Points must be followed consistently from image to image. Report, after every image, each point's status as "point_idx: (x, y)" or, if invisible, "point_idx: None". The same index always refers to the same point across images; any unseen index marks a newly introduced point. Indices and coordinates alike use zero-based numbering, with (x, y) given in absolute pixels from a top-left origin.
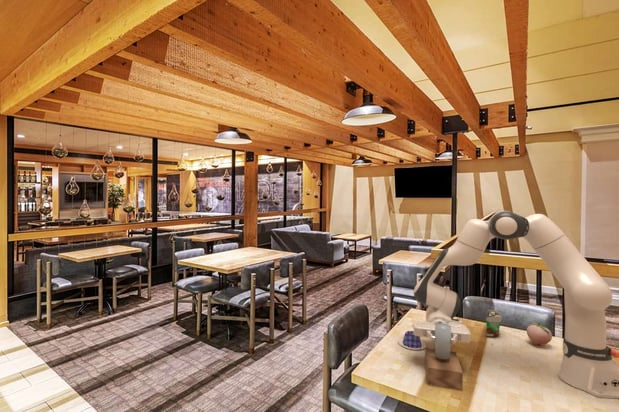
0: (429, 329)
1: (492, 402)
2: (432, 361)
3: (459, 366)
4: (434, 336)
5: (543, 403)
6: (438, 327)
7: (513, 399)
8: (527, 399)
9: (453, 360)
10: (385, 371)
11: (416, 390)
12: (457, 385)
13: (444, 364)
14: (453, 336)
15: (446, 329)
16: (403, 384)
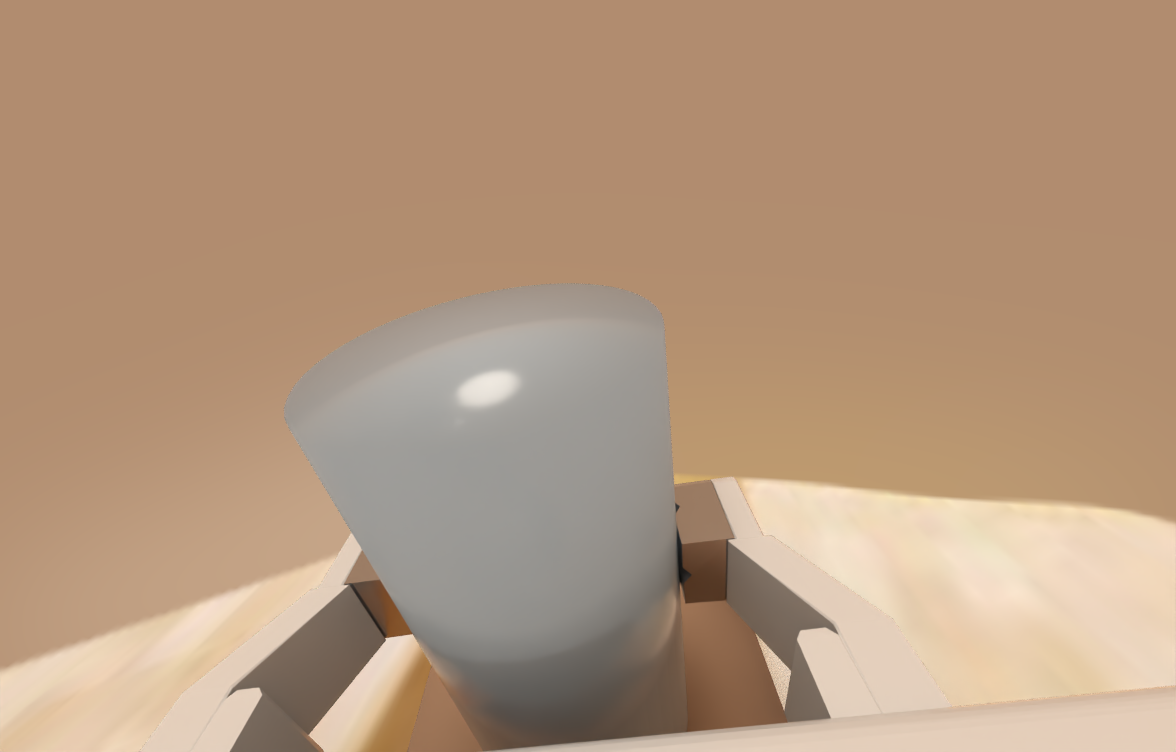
0: (897, 718)
1: None
2: (694, 614)
3: None
4: (678, 490)
5: (82, 661)
6: (593, 287)
7: (236, 634)
8: (139, 669)
9: (466, 743)
10: (1087, 639)
11: None
12: None
13: None
14: (274, 708)
15: (471, 301)
16: (841, 530)
